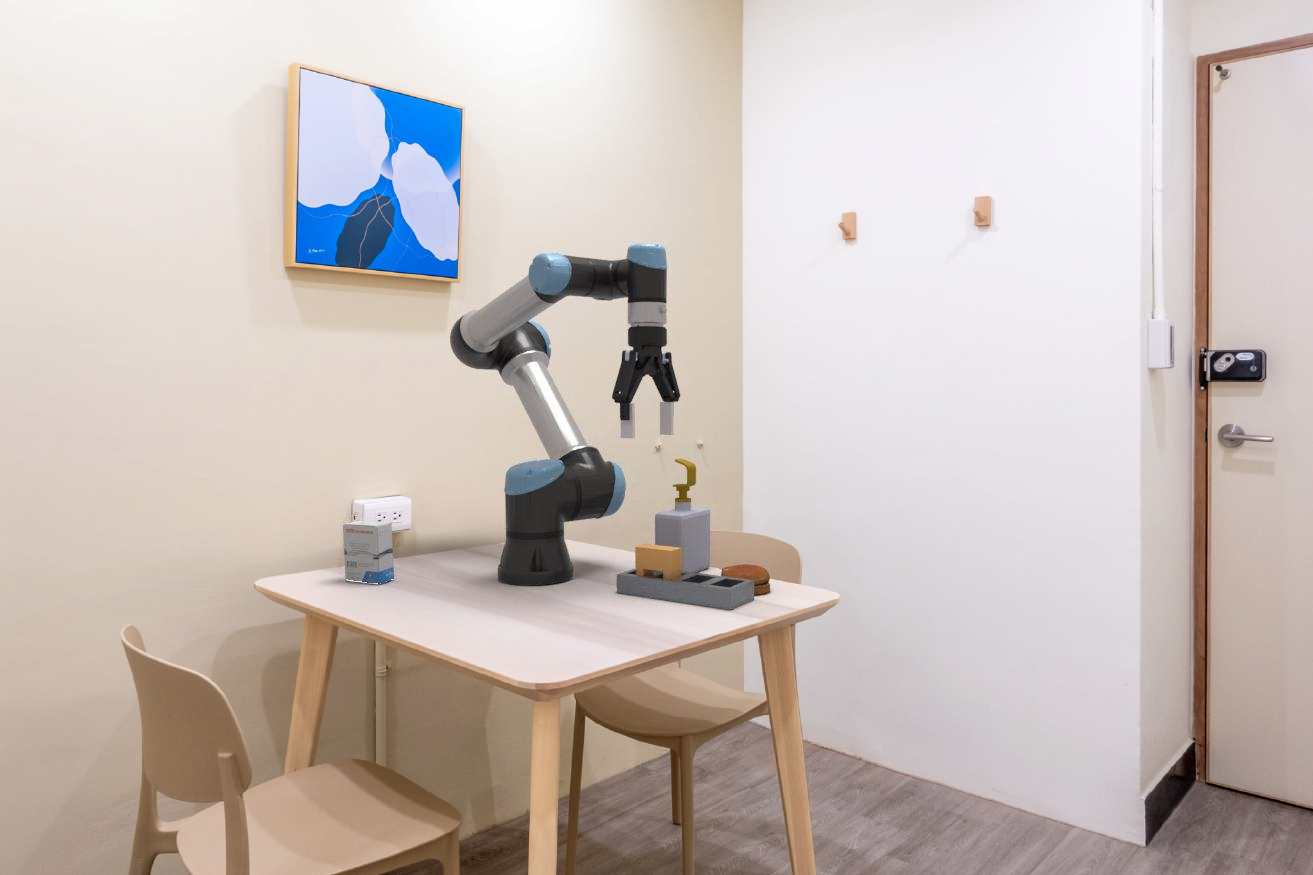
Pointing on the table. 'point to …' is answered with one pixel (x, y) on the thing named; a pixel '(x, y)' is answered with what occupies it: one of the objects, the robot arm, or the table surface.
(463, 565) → the table surface
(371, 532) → the ink box
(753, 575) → the burger
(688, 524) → the soap bottle
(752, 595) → the grey compartment tray
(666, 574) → the orange bridge block
